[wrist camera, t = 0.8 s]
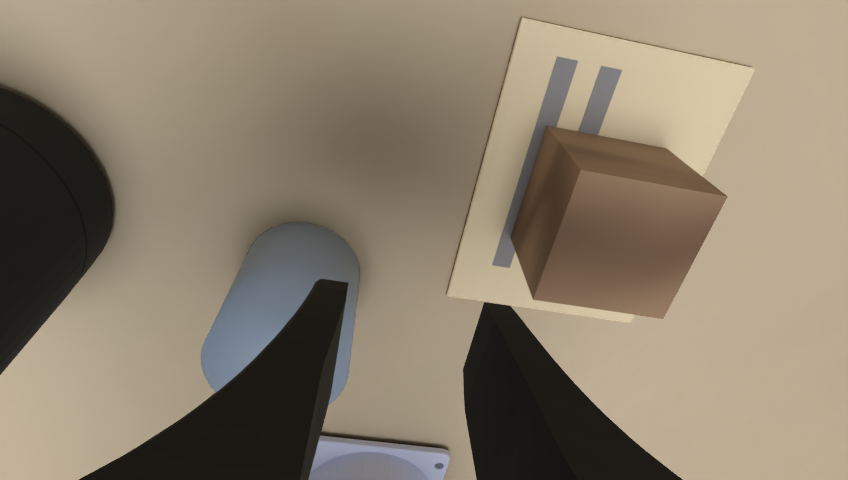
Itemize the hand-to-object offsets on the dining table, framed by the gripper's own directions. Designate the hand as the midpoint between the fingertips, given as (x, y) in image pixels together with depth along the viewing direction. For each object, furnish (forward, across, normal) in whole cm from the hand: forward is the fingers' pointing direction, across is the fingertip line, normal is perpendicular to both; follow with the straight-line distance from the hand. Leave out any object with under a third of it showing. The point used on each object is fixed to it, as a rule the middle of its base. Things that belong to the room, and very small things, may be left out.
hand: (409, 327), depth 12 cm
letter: (+10, -8, 0) cm, 13 cm away
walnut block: (+10, -8, 0) cm, 13 cm away
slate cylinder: (+10, +4, +6) cm, 13 cm away
